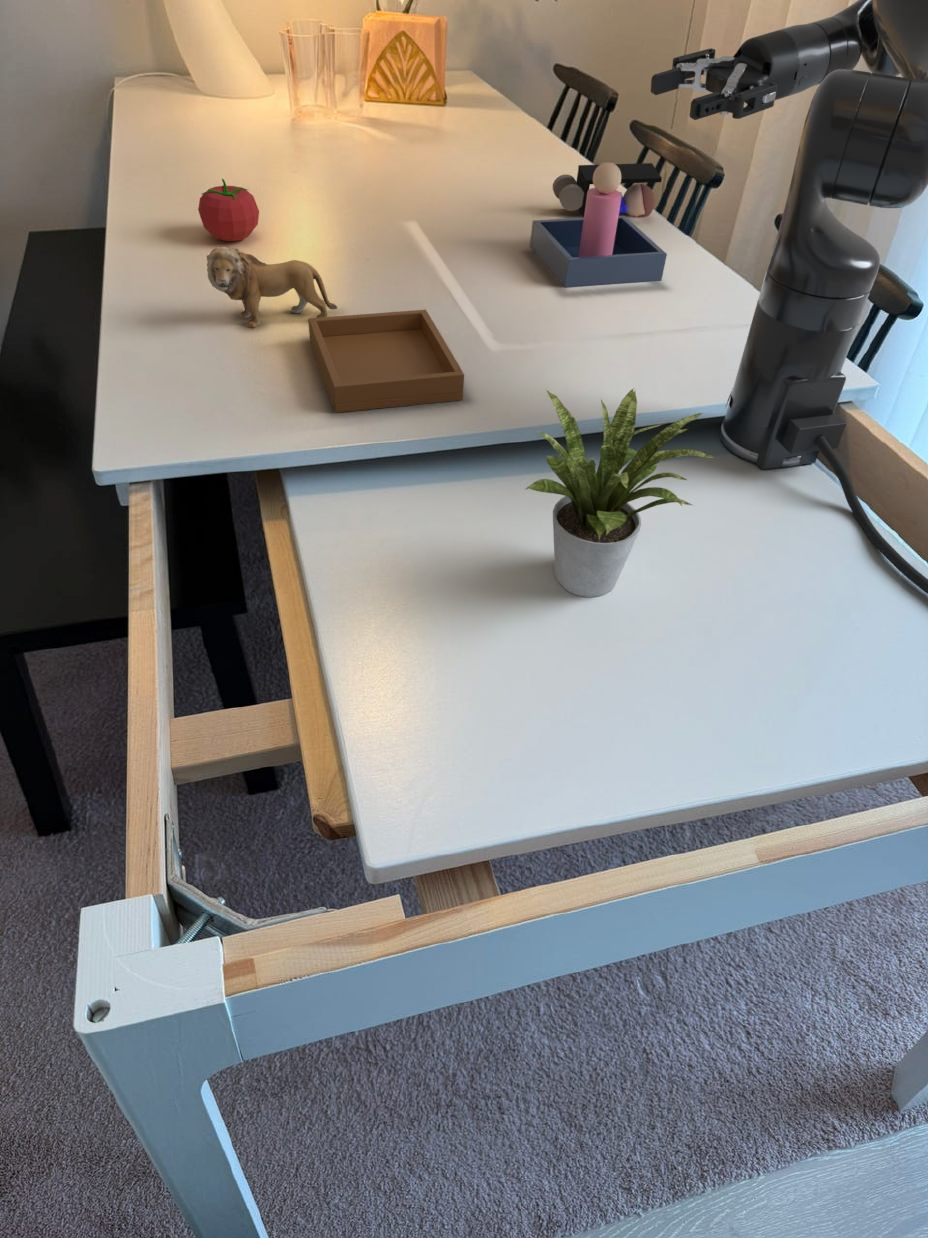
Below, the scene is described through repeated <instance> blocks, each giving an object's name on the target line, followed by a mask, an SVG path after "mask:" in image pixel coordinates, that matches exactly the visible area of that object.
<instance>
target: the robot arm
mask: <svg viewBox="0 0 928 1238" xmlns="http://www.w3.org/2000/svg"><path fill="white" fill-rule="evenodd" d="M861 57H862V59H863V61H864V64H865V65H866V68H867V70H868V71H864V70H863V71H862V70H857V69H855V68H856V66H857V65H858V63H859V62H860V59H861ZM671 65H672V66H671V69H668V70H665V71H662V72H658V73H655V74H653V75H652V76H651V78H650V79H651V80H650V93H651V94H652V95H654V96H658V95H662V94H664V93H668V92H672V91H675V90H679V89H692V90H693V92H695V93H708V94H705V95H701V96H698V97H695V98H693V99H692V100H691V101H690V107H689V108H690V109H689V118H690V119H692V120H694V121H697V120H700V119H703V118H706V117H709V116H713V115H716V114H719V115H722V116H727V115H729V114H731V117H732V118H733V119H735V120H741V119H743V118H745V117H749V116H751V115H754V114H756V113H759V112H762V111H765V110H767V109H770V108H773V107H774V106H775V101H777V100H780V99H784V98H787V97H790V96H793V95H796V94H799V93H803V92H805V91H806V90H808V89H810V88H812V87H815V86H818V87H817V88H816V90H815V93H813V94H814V95H813V97H812V99H811V102H810V104H809V108H808V111H807V114H806V116H805V119H804V124H803V126H802V127H803V128H802V132H801V135H800V140H799V143H798V148H797V152H796V157H795V162H794V166H793V171H792V176H791V180H790V184H789V188H788V193H787V197H786V200H785V204H784V209H783V213H782V217H781V220H780V223H779V227H778V231H777V234H776V238H775V240H774V244H773V247H772V250H771V254H770V257H769V260H768V263H767V268H766V270H765V275H764V278H763V281H762V285H761V288H760V292H759V296H758V299H757V301H756V306H755V309H754V311H753V312H754V313H753V316H752V319H751V323H750V327H749V331H748V333H747V336H746V337H747V338H746V341H745V344H744V348H743V351H742V355H741V358H740V362H739V366H738V369H737V373H736V376H735V380H734V383H733V386H732V389H731V390H730V394H729V395H728V399H727V401H726V404H725V408H724V409H726V408H727V409H726V413H725V416H724V418H723V420H722V423H721V426H720V429H719V437H720V441H721V442H722V444H723V445H724V446H725V448H727V449H728V450H729V451H730V452H732V454H734V455H736V456H738V457H740V458H742V459H744V460H745V461H749V462H752V463H754V464H756V465H757V466H758V467H759V468H760V469H762V470H769V469H770V470H771V469H778V468H786V467H792V466H793V467H794V466H801V465H808V464H809V465H810V464H815V463H816V462H817V459H818V456H819V454H820V452H821V454H822V455H823V457H824V458H825V459H826V461H827V462H828V464H829V466H830V467H831V468H832V471H833V472H834V474H835V475H836V477H837V479H838V481H839V484H840V486H841V488H842V491H843V495H844V498H845V499H846V502H847V504H848V507H849V509H850V510H851V512H852V514H853V516H854V518H855V520H856V521H857V522H858V524H859V525H860V526H859V527H861V529H862V531H863V532H864V533H865V536H866V537H867V538H868V539H869V541H870V542H871V543H872V545H874V547H875V548H876V549H877V550H878V552H880V553H881V554H882V555H883V556H884V558H886V559H887V561H889V562H890V564H891V565H893V566H894V567H895V568H896V569H897V570H898V572H900V573H901V574H902V575H903V576H904V577H905V578H907V579H908V580H909V581H910V582H912V583H913V584H914V585H915V586H916V587H918V588H919V589H921V590H922V591H923V592H924V593H925V594H927V595H928V578H927V577H926V576H925V575H923V573H921V572H920V571H918V570H917V568H915V567H914V566H913V565H911V563H909V562H908V561H907V560H906V559H905V558H904V557H902V555H901V554H899V553H898V551H897V550H896V549H894V547H893V546H892V545H891V543H889V542H888V541H887V540H886V539H885V537H883V536H882V535H881V533H880V532H879V531H878V530H877V528H876V527H875V526H874V524H873V523H872V521H871V519H870V518H869V516H868V514H867V513H866V511H865V509H864V508H863V505H862V504H861V502H860V500H859V498H858V496H857V493H856V491H855V487H854V485H853V481H852V480H851V479H852V478H851V477H850V475H849V473H848V471H847V469H846V467H845V466H844V464H843V462H842V461H841V458H839V456H838V455H837V453H836V452H835V450H834V449H838V447H839V445H840V443H841V440H842V437H843V435H844V433H845V429H846V427H847V422H846V421H845V420H844V419H842V418H841V416H840V415H838V414H837V413H836V412H835V411H836V408H837V405H838V403H839V400H840V397H841V394H842V392H843V390H844V386H845V384H846V381H847V377H846V375H845V374H844V373H843V372H842V370H843V367H844V364H845V362H846V359H847V356H848V354H849V351H850V348H851V346H852V343H853V340H854V337H855V335H856V332H857V329H858V326H859V324H860V321H861V318H862V316H863V312H864V310H865V307H866V305H867V302H868V300H869V296H870V293H871V291H872V289H873V286H874V283H875V280H876V278H877V275H878V273H879V269H880V262H881V257H880V254H879V252H878V250H877V249H876V248H875V246H874V245H873V244H872V243H870V242H869V241H868V240H867V239H865V238H863V237H862V236H860V235H859V234H857V233H856V232H855V231H853V230H852V229H849V228H848V227H847V226H846V225H844V224H843V223H842V222H841V221H840V220H839V219H838V218H837V217H836V215H834V213H833V212H832V211H831V209H830V208H829V206H828V203H827V199H833V200H836V201H837V200H838V201H843V202H849V203H853V204H858V205H864V206H868V205H869V206H870V207H875V208H880V209H902V208H905V207H908V206H910V205H912V204H913V203H914V202H916V200H918V199H919V198H920V197H921V196H922V194H923V193H924V191H925V190H926V188H927V187H928V0H856V1H854V2H853V3H852V4H851V5H849V6H847V7H845V8H844V9H843V10H841V11H839V12H838V13H835V14H834V15H832V16H829V17H826V18H823V19H822V18H821V19H820V20H816V21H813V22H809V23H804V24H795V25H791V26H788V27H784V28H780V29H778V30H774V31H771V32H767V33H763V34H760V35H757V36H753V37H750V38H748V39H747V40H745V41H744V42H743V43H742V44H741V45H740V46H739V48H738V50H736V52H735V54H734V55H732V56H730V55H728V56H726V55H725V56H721V57H719V58H717V57H716V49H715V48H706V49H703V50H698V51H695V52H691V53H688V54H683V55H679V56H676V57H673V58H672V64H671ZM702 76H705V81H704V82H705V83H703V82H702V81H701V78H702ZM692 78H693V79H692ZM745 104H746V106H745Z"/></svg>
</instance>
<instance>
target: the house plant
mask: <svg viewBox="0 0 928 1238" xmlns="http://www.w3.org/2000/svg"><path fill="white" fill-rule="evenodd" d="M636 390H637V389H634V388H632V389H631V390H629V391H628V392H627V393H626V394H625V396H624V397H623V398H622V400H621V401H620V403H619V405H618V407H617V408H616V410H615V412H614V415H613V417H612V420H611V421H610V418H609V413H608V409H607V407H606V404H605V403H604V401H603V400H602V398H600V403H601V409H602V410H601V411H602V419H603V420H602V421H603V441H602V444H601V446H600V452H599V453H600V454H599V455H600V456H599V463H598V466H597V470H596V465H597V464H596V461H595V459H594V458H593V457H591V458H588V460H587V456H586V450H585V445H584V442H583V437H582V435H581V432H580V429H579V426H578V422H577V421H576V418H575V417H574V416H573V414H572V413H571V412H570V411H569V410H568V409H567V408H566V407H565V405H564V404H563V402H562V401H561V400H560V398H559V397H558V396H557V395H555V393H552V392H550V391H549V390H548V389H546V392H547V395H548V397H549V398H550V400H551V403H552V405H553V407H554V409H555V411H556V413H557V414H556V415H557V416H558V419H559V422H560V425H561V428H562V430H563V433H564V437H565V442H566V446H567V449H565V448H564V447H563V446H562V445H561V444H560V443H559V442H558V441H557V440H556V439H555V438H554V437H552V436H551V435H549V434H547V433H546V432H542V431H540V430H537V432H538V433H539V434H540V435H541V436H542V437H543V438H544V439H545V440H546V441H548V442H549V443H550V445H551V446H552V447H553V449H554V451H555V452H556V453H557V454H558V455H559V456H555V455H546V464H547V465H548V466H549V468H550V469H551V471H552V472H553V473H554V474H555V475H556V477H557V478H558V479H559V480H560V481H561V482H562V483H560V482H558V481H555V480H553V479H549V478H542V479H538V480H536V481H534V482H532V483H531V484H530V485H528V486H527V487H526V488H525V489H524V491H526V490H528V489H530V490H532V491H534V492H535V491H536V492H540V493H547V494H555V495H560V496H563V497H560V499H559V500H558V501H557V502H556V503H555V505H554V507H553V509H552V527H553V528H552V529H553V553H554V555H553V556H554V557H553V559H554V577H555V579H556V581H557V582H558V583H559V585H560V586H561V587H562V588H563V589H564V590H566V591H567V592H568V593H571V594H573V595H575V596H579V597H584V598H595V597H600V596H604V595H607V594H608V593H610V592H612V590H613V589H614V588H615V587H616V586H617V585H616V584H617V583H618V580H619V578H620V576H621V573H622V571H623V569H624V567H625V565H626V562H627V561H628V558H629V555H630V554H631V551H632V549H633V547H634V545H635V542H636V540H637V538H638V536H639V533H640V531H641V528H642V525H643V524H642V519H641V516H640V514H639V513H640V512H644V511H645V510H648V509H650V508H654V507H656V506H660V505H666V504H670V503H678V504H679V505H680V506H681V507H683V505H687V506H693V503H690V502H688V501H686V500H684V499H681V498H678V496H677V495H676V494H675V493H674V492H672V491H671V490H669V489H667V488H664V487H659V486H658V487H649V486H648V487H645V488H641V487H643V486H644V485H646V484H648V483H651V482H652V481H656V480H659V479H664V478H674V479H678V480H682V481H689V480H688V479H687V478H685V477H683V476H682V475H680V474H677V473H673V472H669V471H668V472H667V471H666V472H660V473H656V474H653V473H654V472H655V471H656V469H657V468H658V467H660V466H659V463H661V462H663V461H667V460H670V459H674V458H680V457H684V456H685V457H686V456H695V457H700V458H701V457H702V458H708V459H709V458H711V459H716V457H715V456H713V455H712V454H708V453H705V452H703V451H700V450H697V449H696V450H695V449H690V448H677V449H666V450H660V449H661V448H662V447H664V446H665V445H666V444H668V443H669V442H670V441H671V440H672V439H674V438H675V437H676V436H677V435H680V434H681V433H685V432H686V431H687V430H688V428H683V427H684V426H686V425H687V424H688V423H690V422H692V421H695V420H696V419H697V418H699V417H700V416H701V415H702V414H703V412H700V413H695V414H691V415H688V416H685V417H683V418H681V419H679V420H676V421H674V422H672V423H671V424H669V425H668V426H666V427H665V428H664V429H662V430H661V431H659V432H658V433H657V434H656V435H654V436H653V437H652V438H651V439H649V440H648V441H647V442H646V443H645V444H643V446H642V447H640V449H639V450H638V451H636V450H634V449H633V448H629V447H630V444H631V441H632V438H633V436H634V435H638V434H639V433H642V432H645V431H647V430H648V431H649V430H651V429H654V428H658V427H661V426H664V425H666V424H668V423H669V421H667V422H664V423H660V424H656V425H651V426H646V427H643V428H640V429H637V430H635V427H636V418H637V416H636V415H637V410H638V409H637V408H638V400H637V395H636ZM560 457H561V458H560ZM628 462H629V463H628ZM627 463H628V464H627ZM626 464H627V465H626ZM625 465H626V466H625ZM624 466H625V467H624ZM622 469H623V470H622ZM621 470H622V471H621ZM620 471H621V472H620ZM652 474H653V475H652ZM650 475H651V476H650ZM649 476H650V477H649ZM647 477H648V478H647ZM639 483H640V484H639ZM646 497H654V498H659V499H656V500H654V501H652V502H651V501H650V502H649V503H646V504H644V505H642V506H641V507H639V508H637V509H636V508H635V507H634V506H633V505H632V504H631V503H629V502H632V501H635V500H637V499H640V498H646Z"/></svg>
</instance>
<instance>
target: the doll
mask: <svg viewBox="0 0 928 1238" xmlns="http://www.w3.org/2000/svg"><path fill="white" fill-rule="evenodd" d="M615 164H616V163H613V162H610V161H609V162H607V161H606V162H602V163H601V164H598V165H599V166H598V167H597V168H596V170H595V171H594V174H593V184H592V185H593V187H592V188H589V190H588V192H587V199H586V207H585V214H584V215H583V218H584V221H583V228H582V235H581V242H580V249H579V256H578V257H587V256H603V255H612V252H613V246H614V240H615V234H616V228H617V222H618V216H620V214H619V210H620V204H621V198H622V196H623V193H622V192H621V191H619V190H617V189H618V188H619V187H620V185H621V184H622V183H621V171H620V169H619V168H618V166H616V165H615ZM620 192H621V193H622V194H621V193H620Z"/></svg>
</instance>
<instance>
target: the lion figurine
mask: <svg viewBox="0 0 928 1238" xmlns="http://www.w3.org/2000/svg"><path fill="white" fill-rule="evenodd" d="M206 261H207V263H206V266H207V267H206V271H207V272H206V273H207V278H208V281H209V283H210V284H211V286H212V287H213V288H215V289H216V290H217V291H219V292H222V293H224V294H226V295H227V296H228V298H229V299H230V300H232V301H241V302H242V304H243V309H244V310H242V311H241V312H240V313H239V316H240V318H241V319H249V318H250V317H251V318H250V319H249V320H247V322H246V324H247V326H248V327H249V328H252V329H254V328H257V327H258V326H259V325H260V319H261V317H260V311H259V309H260V308H259V307H260V302H261V299H262V298H276V297H280V296H282V295H284V294H287V293H288V292H289V291H291V290H292V289H293V290H295V292H296V293H297V296H298V299H299V300H298V301H299V302H298V304H297V305H293V306H292V307H291V310H290V311H291V312H292V313H294V314H299V313H301V312H302V311H303V310H304V308H306V306H307V304H310V305H312V306H313V307H315V308H316V309H318V310H319V311H320V313H319V314H317V315H316V316H315V318H320V317H329V315H328V310H327V308H328V309H329V310H337V309H338V305H336V304H335V303H332V302H330V301H329V297H328V294H327V290H326V288H325V284H324V282H323V280H322V277H321V275H320V274H319V272H318V271H317V269H316V268H315V267H313V266H312V265H311V264H310V263H308V262H305V261H302V260H298V259H293V260H288V261H285V262H280V263H271V264H270V263H267V264H266V263H265V262H262V261H261V260H259V259H258V258H257V257H256V256H254V255H252V254H250V253H246V252H243V251H240V250H239V249H238V248H234V247H229V246H219V247H214V248H213V249H212V250H211V251H210V252H209V254H208V255H206ZM315 282H316V284H317V287H318V289H319V291H320V294H321V296H322V298H321V297H320V296H319V294H318V292H317V290H316V287H315Z"/></svg>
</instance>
